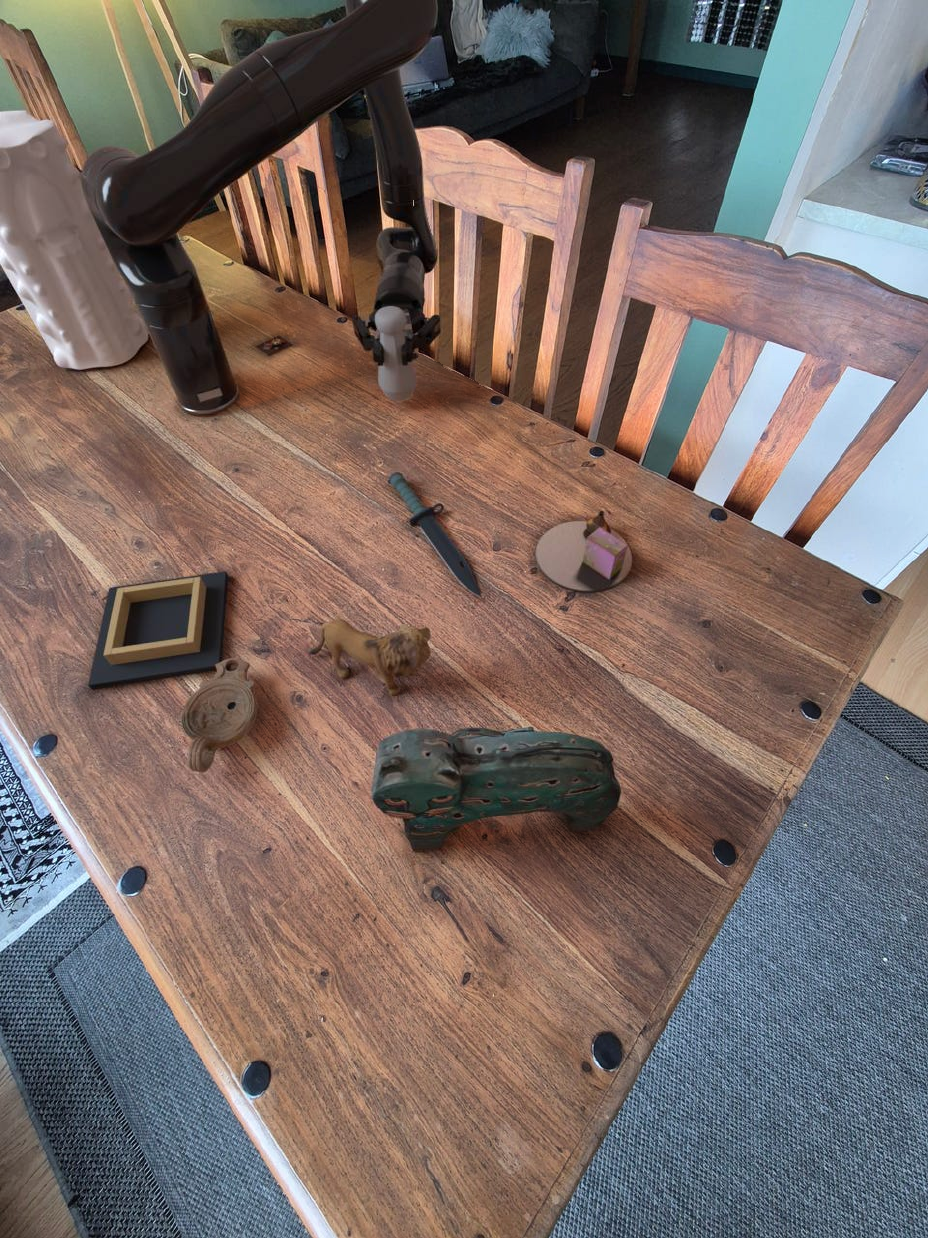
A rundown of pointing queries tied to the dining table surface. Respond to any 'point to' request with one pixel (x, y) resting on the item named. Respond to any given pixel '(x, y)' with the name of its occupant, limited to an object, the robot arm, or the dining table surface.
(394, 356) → the salt shaker
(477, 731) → the ceramic cat
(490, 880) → the dining table surface
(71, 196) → the vase
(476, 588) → the knife
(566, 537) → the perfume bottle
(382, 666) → the lion figurine
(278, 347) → the diorama
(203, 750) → the oil lamp
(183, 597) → the pad
